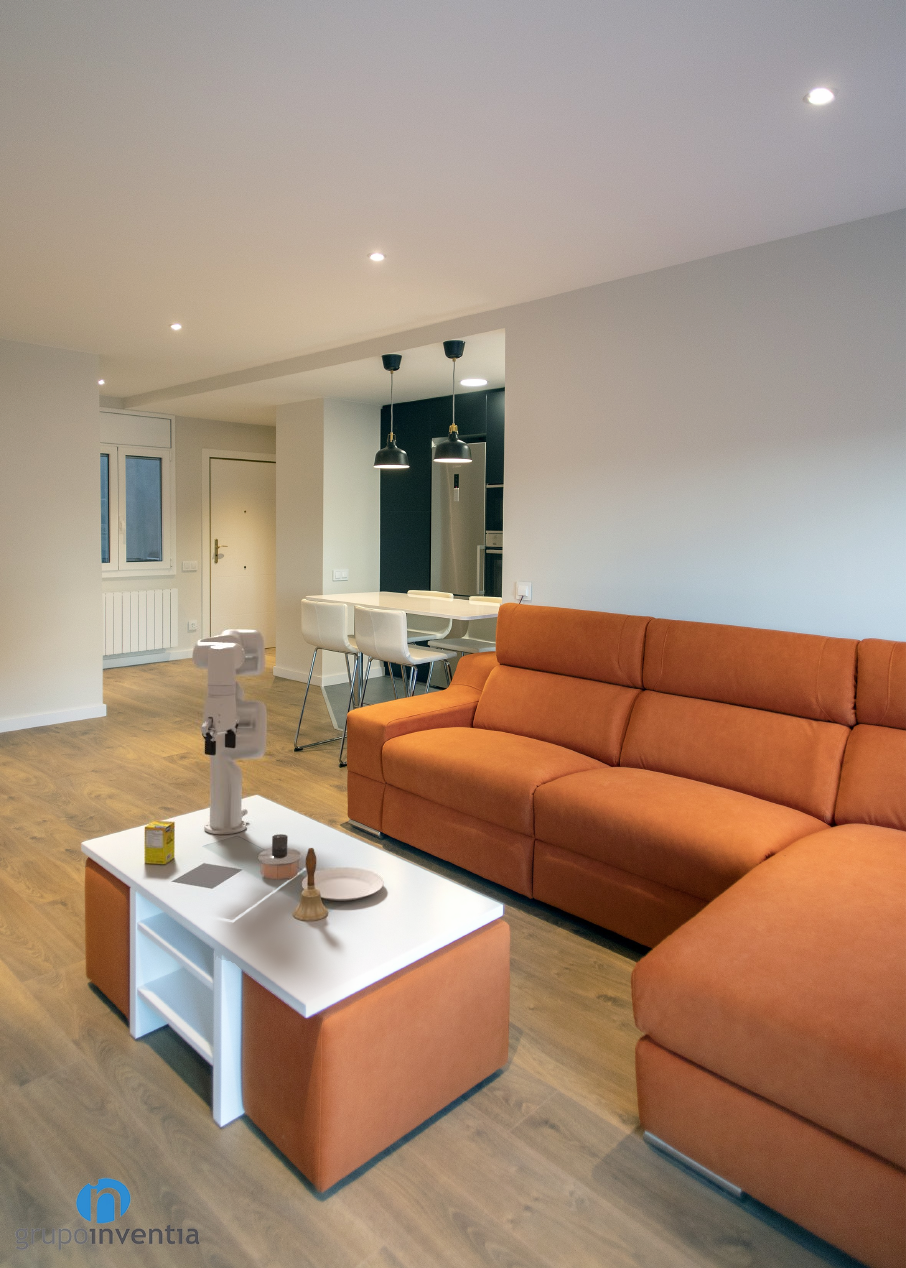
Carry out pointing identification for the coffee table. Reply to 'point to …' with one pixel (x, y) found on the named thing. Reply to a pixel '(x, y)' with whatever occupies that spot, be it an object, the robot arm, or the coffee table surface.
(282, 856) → the lid
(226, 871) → the mat
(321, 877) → the plate
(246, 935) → the coffee table surface
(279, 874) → the hollow octagonal tube
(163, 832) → the supplement box
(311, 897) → the hand bell
